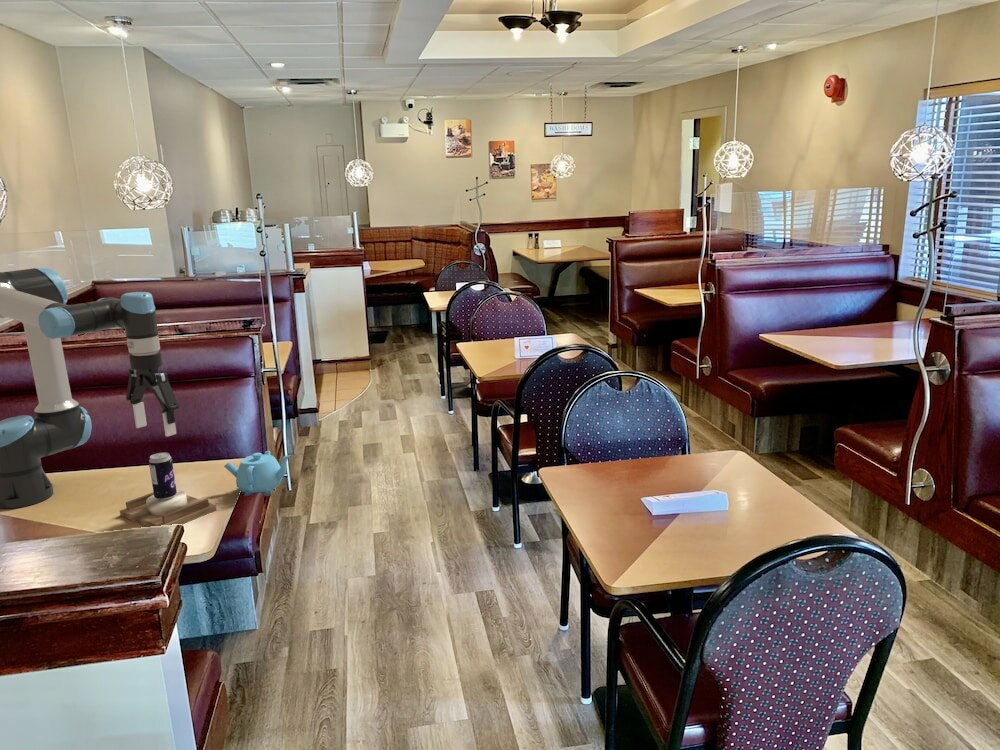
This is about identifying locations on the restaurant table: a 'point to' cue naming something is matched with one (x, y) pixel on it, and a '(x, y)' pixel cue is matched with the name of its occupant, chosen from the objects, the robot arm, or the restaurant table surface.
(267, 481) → the teapot
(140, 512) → the brown wooden tray
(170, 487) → the beverage can
